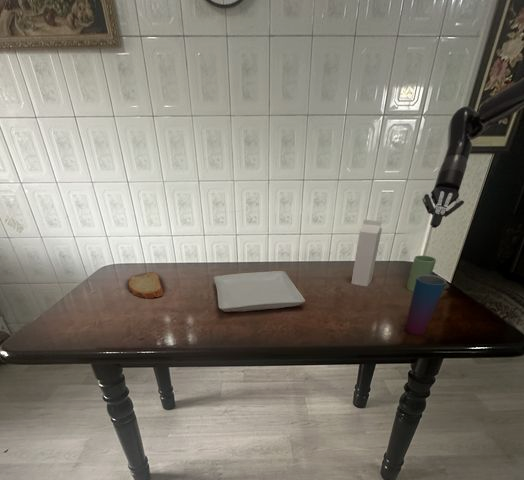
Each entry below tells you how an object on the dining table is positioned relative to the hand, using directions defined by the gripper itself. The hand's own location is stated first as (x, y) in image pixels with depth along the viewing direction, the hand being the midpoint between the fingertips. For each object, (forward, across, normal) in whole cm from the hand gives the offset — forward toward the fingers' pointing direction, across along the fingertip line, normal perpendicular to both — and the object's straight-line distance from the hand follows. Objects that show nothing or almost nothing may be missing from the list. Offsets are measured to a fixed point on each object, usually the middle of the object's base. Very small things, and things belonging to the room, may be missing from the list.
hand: (434, 226), depth 100 cm
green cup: (+20, +2, +6) cm, 21 cm away
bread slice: (+45, -91, -8) cm, 102 cm away
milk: (+22, -17, +8) cm, 29 cm away
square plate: (+38, -51, -8) cm, 64 cm away
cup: (+37, -1, -19) cm, 42 cm away
